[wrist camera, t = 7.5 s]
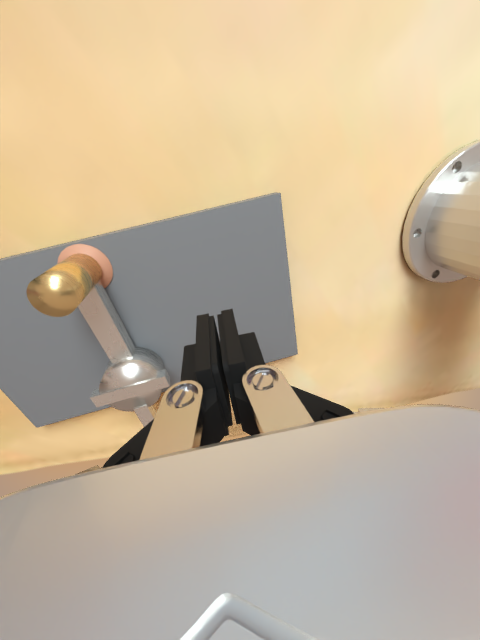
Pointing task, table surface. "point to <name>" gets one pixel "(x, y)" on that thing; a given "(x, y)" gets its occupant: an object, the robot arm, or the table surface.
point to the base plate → (147, 301)
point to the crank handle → (103, 335)
